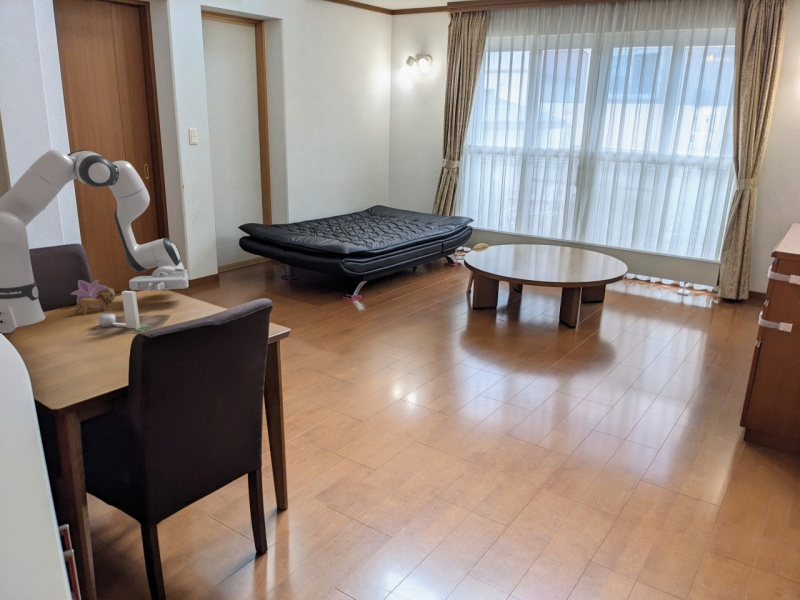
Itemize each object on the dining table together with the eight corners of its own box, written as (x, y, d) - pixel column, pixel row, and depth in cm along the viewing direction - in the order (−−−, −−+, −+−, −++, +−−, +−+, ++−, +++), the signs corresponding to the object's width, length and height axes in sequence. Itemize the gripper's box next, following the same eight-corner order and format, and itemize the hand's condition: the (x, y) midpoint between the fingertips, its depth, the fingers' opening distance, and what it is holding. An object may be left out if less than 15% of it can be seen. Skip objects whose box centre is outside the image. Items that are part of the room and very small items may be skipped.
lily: (114, 301, 232) (105, 278, 233) (105, 297, 221) (95, 273, 221) (83, 313, 230) (74, 290, 230) (72, 310, 218) (62, 286, 219)
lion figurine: (114, 309, 219) (111, 285, 216) (119, 312, 215) (116, 288, 213) (71, 318, 209) (66, 293, 207) (75, 321, 205) (71, 296, 203)
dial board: (87, 339, 188) (86, 334, 187) (109, 320, 206) (108, 316, 205) (156, 337, 190) (156, 332, 189) (172, 318, 208) (171, 313, 207)
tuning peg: (95, 326, 195) (90, 291, 191) (107, 321, 199) (101, 287, 196) (133, 330, 191) (128, 294, 188) (143, 325, 196) (139, 290, 192)
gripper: (134, 271, 223) (121, 280, 210) (190, 269, 225) (181, 278, 212) (136, 287, 225) (124, 298, 212) (192, 285, 227) (183, 295, 213)
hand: (153, 288), depth 212 cm, fingers closed
